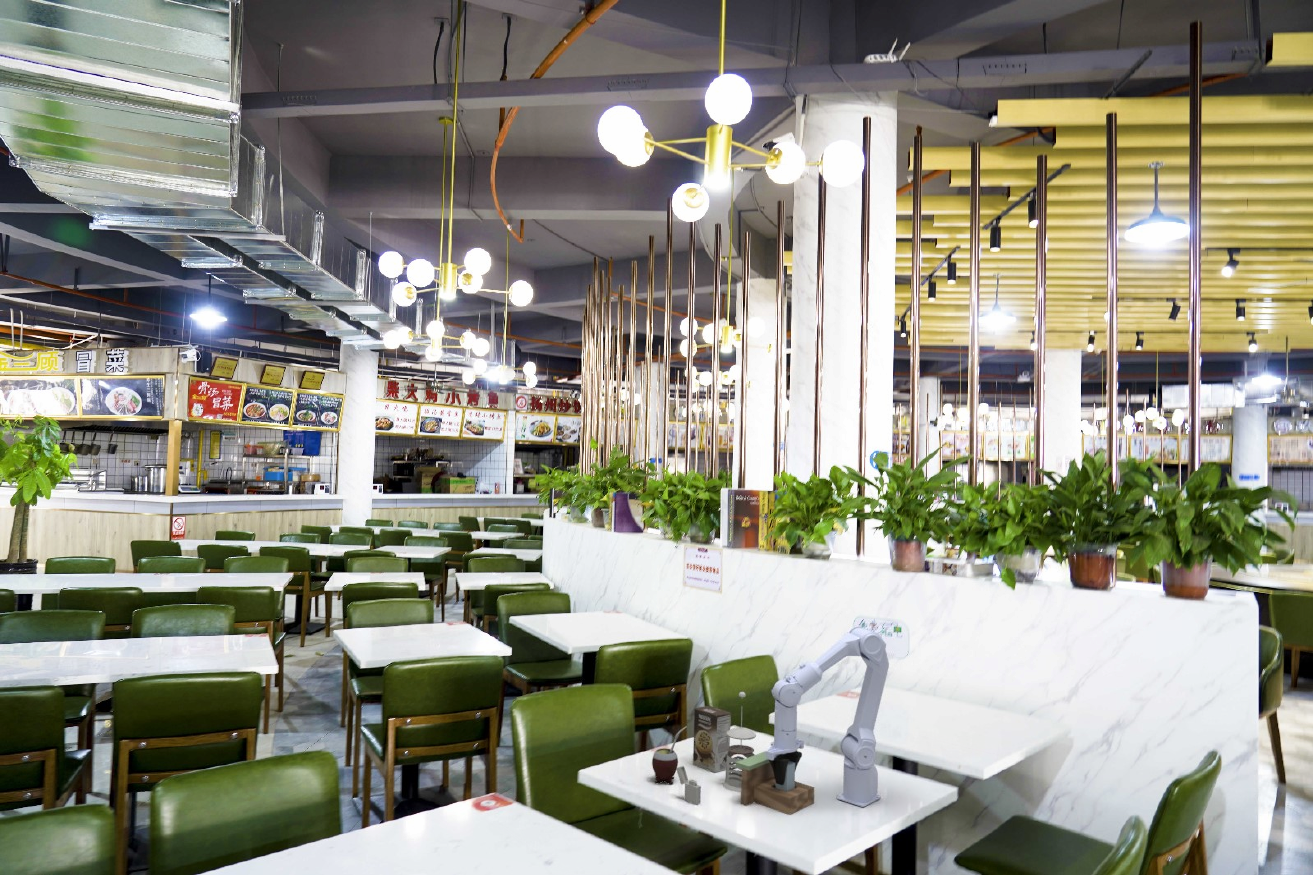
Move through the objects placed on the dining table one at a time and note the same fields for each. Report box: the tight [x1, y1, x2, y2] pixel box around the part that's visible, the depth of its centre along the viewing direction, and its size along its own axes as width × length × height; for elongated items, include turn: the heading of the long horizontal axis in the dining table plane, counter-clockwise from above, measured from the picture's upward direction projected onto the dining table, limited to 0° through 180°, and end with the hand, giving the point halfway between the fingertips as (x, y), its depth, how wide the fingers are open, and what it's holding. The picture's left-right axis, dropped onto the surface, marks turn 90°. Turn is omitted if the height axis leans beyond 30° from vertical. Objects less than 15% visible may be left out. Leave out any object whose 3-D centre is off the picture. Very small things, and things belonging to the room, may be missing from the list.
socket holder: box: [735, 750, 815, 816], centre depth 215 cm, size 18×14×10 cm
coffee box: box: [692, 705, 732, 774], centre depth 239 cm, size 9×6×16 cm
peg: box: [775, 761, 796, 792], centre depth 213 cm, size 4×4×7 cm
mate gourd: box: [651, 725, 687, 785], centre depth 227 cm, size 8×8×15 cm
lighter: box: [676, 765, 702, 806], centre depth 213 cm, size 7×2×8 cm, turn 48°
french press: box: [716, 691, 757, 793], centre depth 226 cm, size 10×12×25 cm
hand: (784, 782), depth 214 cm, fingers closed on peg, 3 cm apart
